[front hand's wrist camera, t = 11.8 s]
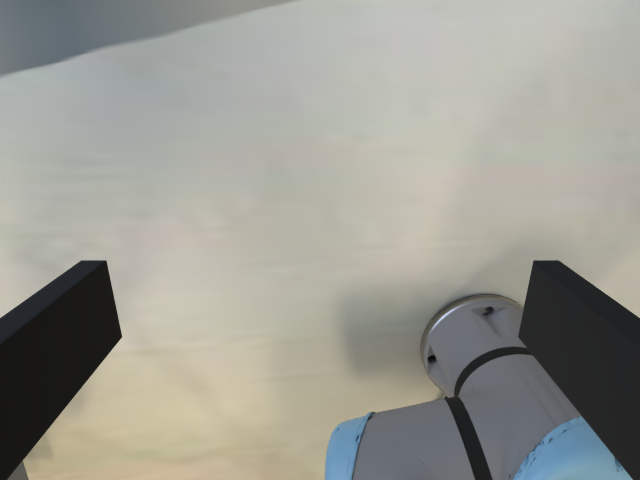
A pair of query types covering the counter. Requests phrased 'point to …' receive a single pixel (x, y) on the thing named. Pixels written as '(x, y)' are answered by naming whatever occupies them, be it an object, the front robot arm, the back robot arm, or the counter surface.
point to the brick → (19, 473)
